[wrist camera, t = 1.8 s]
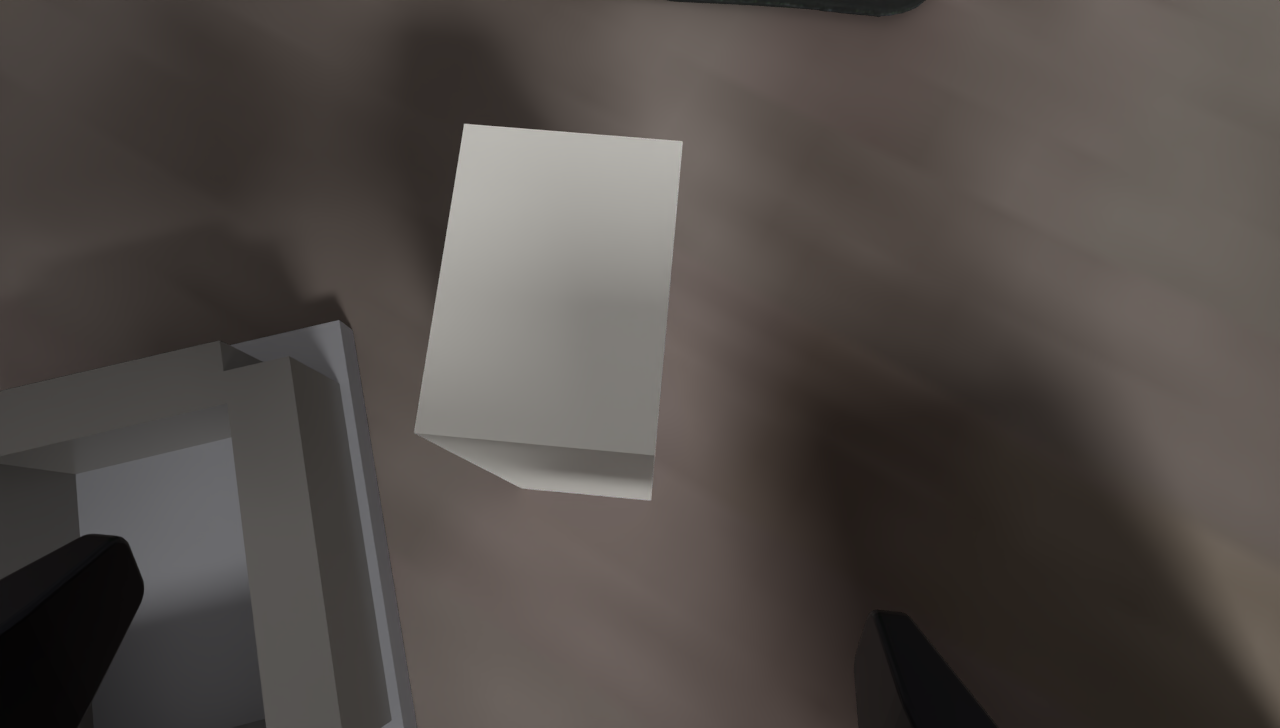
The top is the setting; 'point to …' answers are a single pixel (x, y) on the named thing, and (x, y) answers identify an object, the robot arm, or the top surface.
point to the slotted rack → (221, 530)
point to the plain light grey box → (554, 309)
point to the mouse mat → (831, 5)
